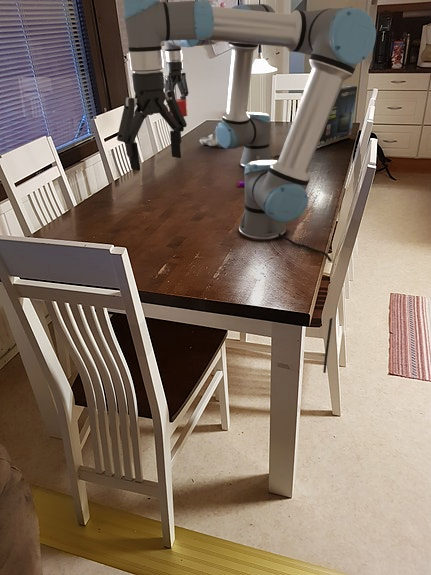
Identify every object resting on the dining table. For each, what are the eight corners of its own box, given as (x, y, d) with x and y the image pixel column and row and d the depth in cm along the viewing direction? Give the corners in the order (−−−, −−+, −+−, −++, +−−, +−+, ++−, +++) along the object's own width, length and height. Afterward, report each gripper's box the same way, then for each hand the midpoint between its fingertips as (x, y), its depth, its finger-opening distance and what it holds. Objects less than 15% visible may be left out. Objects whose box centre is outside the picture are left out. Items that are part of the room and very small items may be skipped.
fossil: (223, 141, 238) (204, 123, 241) (212, 159, 245) (194, 141, 248) (240, 140, 252) (222, 123, 255) (230, 156, 258) (212, 139, 262)
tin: (180, 113, 231) (179, 98, 228) (191, 115, 225) (190, 100, 221) (166, 116, 226) (164, 100, 223) (176, 118, 220) (175, 102, 217)
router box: (314, 151, 231) (318, 94, 217) (296, 148, 237) (299, 92, 224) (352, 138, 251) (358, 85, 238) (335, 135, 258) (340, 83, 245)
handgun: (237, 185, 191) (237, 180, 190) (255, 183, 192) (255, 178, 191) (249, 201, 173) (249, 197, 172) (269, 199, 174) (269, 194, 174)
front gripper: (176, 65, 115) (182, 150, 126) (92, 76, 100) (107, 172, 111) (197, 66, 111) (201, 154, 122) (112, 78, 96) (126, 178, 107)
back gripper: (181, 59, 223) (184, 108, 234) (153, 63, 207) (158, 115, 219) (193, 58, 219) (196, 108, 231) (166, 63, 204) (171, 116, 215)
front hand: (156, 163), depth 117 cm, fingers open, 13 cm apart
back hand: (178, 112), depth 225 cm, fingers closed on tin, 9 cm apart
